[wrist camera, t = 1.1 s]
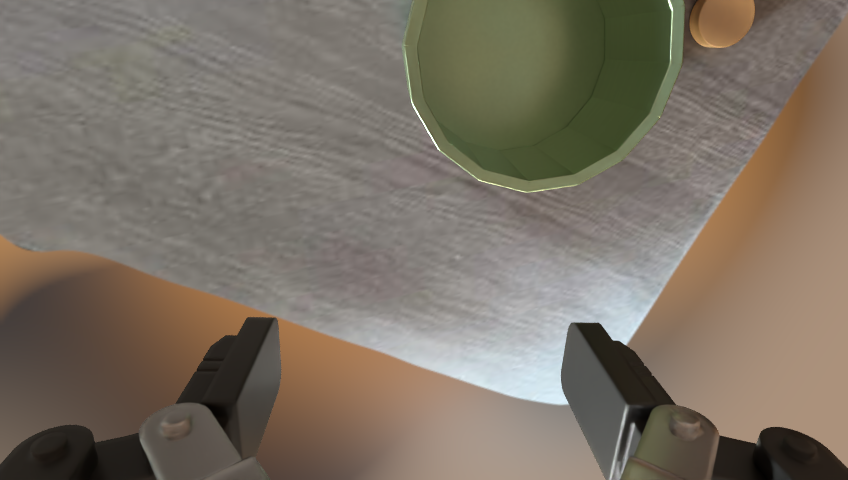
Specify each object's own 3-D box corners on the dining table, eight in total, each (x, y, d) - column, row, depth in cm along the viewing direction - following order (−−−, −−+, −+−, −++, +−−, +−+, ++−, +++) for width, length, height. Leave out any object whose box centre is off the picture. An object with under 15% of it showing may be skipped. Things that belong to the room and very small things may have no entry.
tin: (388, -51, 33) (384, -87, 24) (611, -83, 33) (692, -131, 24) (419, 169, 38) (426, 207, 29) (612, 141, 38) (678, 171, 29)
